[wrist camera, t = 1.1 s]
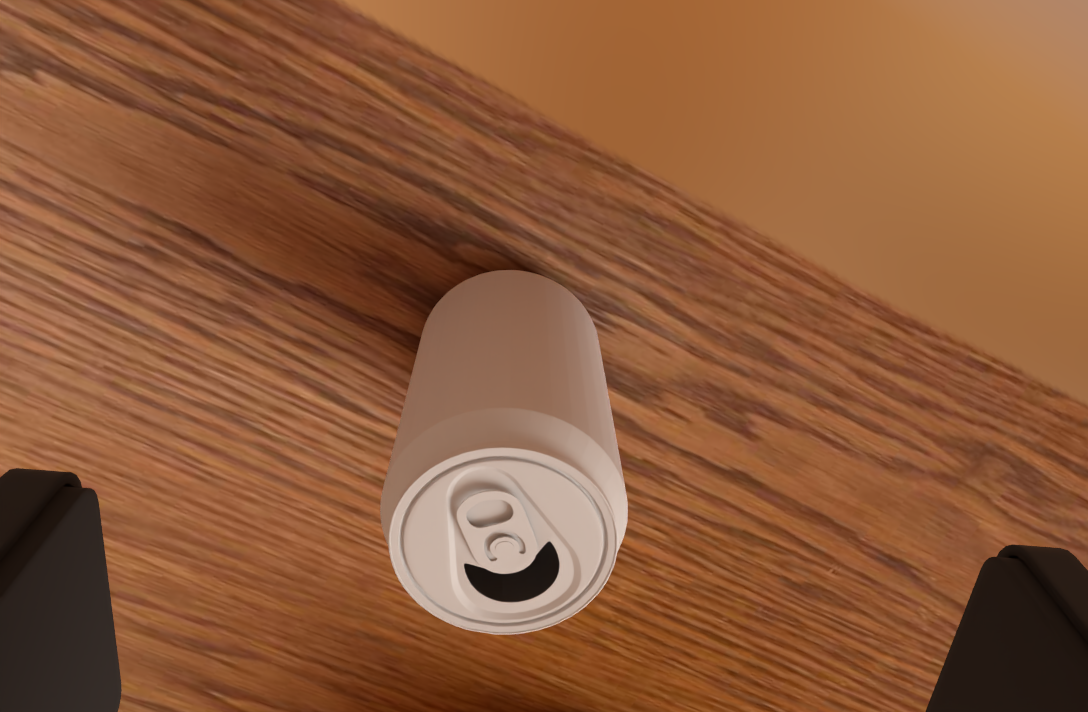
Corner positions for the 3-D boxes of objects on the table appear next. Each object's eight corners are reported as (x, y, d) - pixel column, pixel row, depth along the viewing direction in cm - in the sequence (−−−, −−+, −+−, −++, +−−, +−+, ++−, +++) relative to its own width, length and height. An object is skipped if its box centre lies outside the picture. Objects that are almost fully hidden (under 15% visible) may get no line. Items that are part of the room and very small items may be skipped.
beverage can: (456, 439, 35) (426, 674, 24) (395, 290, 32) (330, 478, 21) (617, 394, 34) (661, 615, 23) (568, 238, 31) (593, 405, 20)
